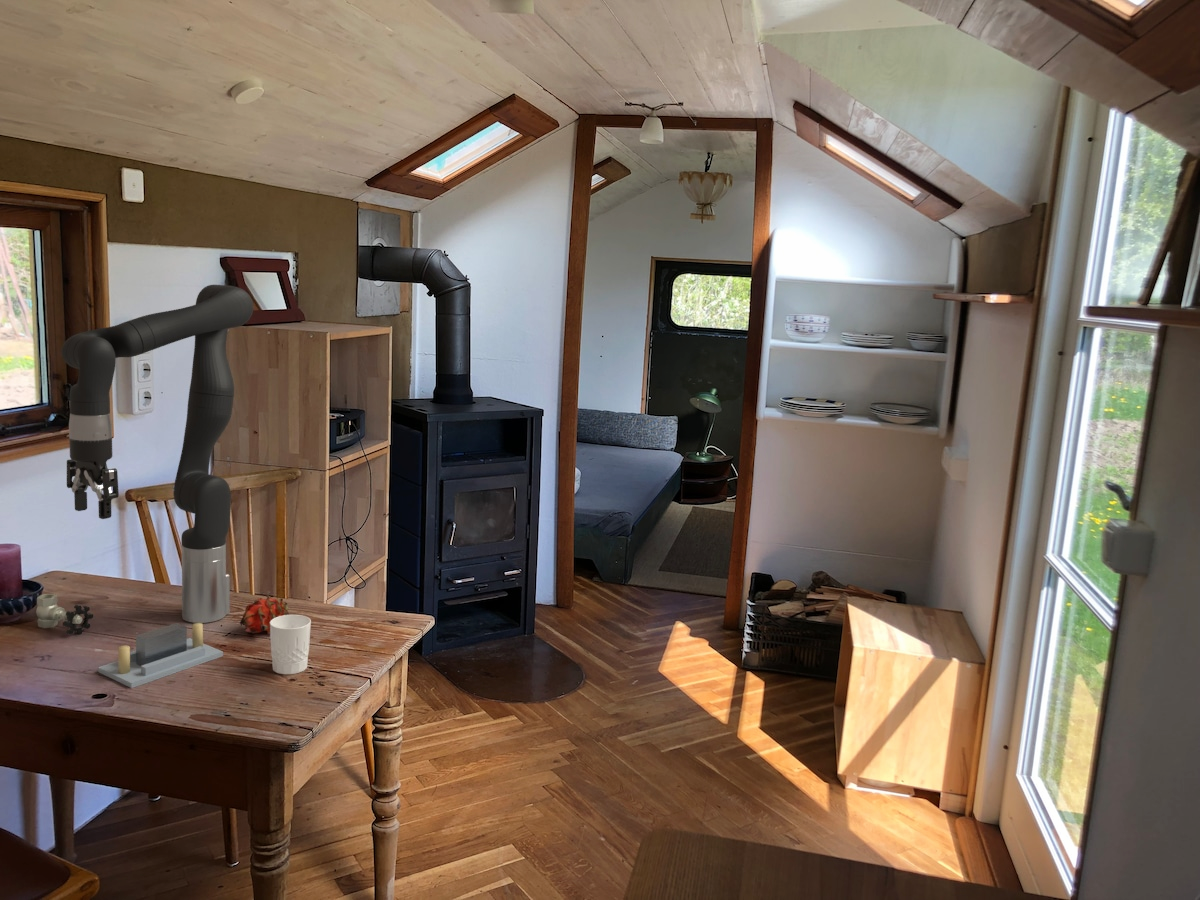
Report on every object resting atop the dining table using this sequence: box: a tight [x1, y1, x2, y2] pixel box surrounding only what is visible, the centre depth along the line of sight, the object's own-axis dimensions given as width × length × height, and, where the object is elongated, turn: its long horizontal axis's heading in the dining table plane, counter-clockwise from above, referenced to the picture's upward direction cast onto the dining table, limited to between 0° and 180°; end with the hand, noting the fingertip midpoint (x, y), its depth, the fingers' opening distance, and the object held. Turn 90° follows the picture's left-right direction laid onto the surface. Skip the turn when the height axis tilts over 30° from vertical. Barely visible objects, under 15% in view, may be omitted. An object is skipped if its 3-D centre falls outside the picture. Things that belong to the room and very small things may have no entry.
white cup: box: [269, 614, 312, 675], centre depth 190 cm, size 8×8×10 cm
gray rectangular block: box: [135, 622, 188, 666], centre depth 188 cm, size 9×3×6 cm, turn 148°
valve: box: [35, 593, 94, 636], centre depth 201 cm, size 7×7×12 cm
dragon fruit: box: [239, 595, 290, 635], centre depth 208 cm, size 8×8×12 cm
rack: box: [97, 623, 224, 689], centre depth 188 cm, size 20×11×6 cm, turn 148°
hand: (92, 514), depth 190 cm, fingers open, 8 cm apart
